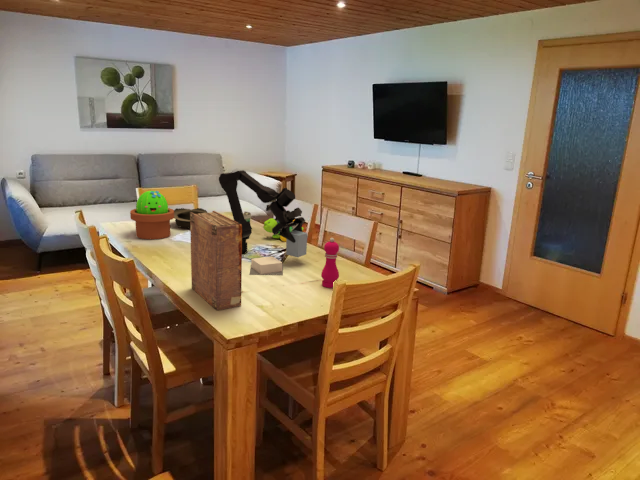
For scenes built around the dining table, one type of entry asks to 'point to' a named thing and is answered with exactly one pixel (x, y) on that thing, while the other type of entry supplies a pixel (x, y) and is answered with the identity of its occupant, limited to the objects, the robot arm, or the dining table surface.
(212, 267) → the book
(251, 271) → the baseplate
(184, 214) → the stone bowl
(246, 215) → the food container
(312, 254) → the dining table surface
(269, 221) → the turtle toy
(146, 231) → the potted cactus
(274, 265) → the base brick
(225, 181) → the robot arm
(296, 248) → the tall brick
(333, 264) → the pepper mill
